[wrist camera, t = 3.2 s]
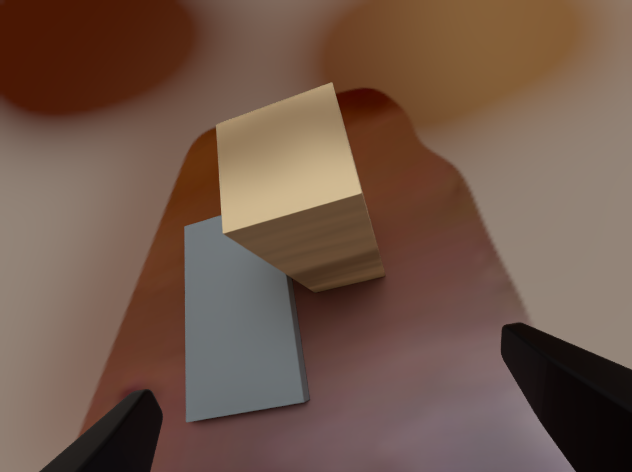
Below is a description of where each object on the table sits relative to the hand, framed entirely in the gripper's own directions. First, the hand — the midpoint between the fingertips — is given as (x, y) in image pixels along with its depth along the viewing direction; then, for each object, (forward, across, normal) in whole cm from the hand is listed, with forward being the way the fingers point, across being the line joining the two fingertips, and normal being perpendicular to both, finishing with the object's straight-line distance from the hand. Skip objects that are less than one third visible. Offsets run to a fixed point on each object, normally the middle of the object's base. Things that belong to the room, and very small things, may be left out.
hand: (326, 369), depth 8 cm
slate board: (+14, +6, +6) cm, 16 cm away
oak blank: (+14, -2, +3) cm, 15 cm away
